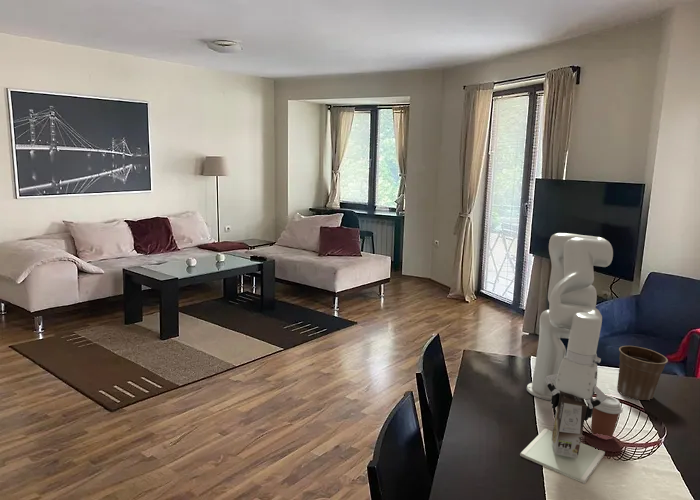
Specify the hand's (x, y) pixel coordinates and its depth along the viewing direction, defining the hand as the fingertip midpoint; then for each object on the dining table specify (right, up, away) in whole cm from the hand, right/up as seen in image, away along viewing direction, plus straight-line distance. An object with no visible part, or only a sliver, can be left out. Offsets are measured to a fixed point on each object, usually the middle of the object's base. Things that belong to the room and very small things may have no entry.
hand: (570, 412), depth 157 cm
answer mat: (-1, -13, +3) cm, 13 cm away
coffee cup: (+16, -12, +17) cm, 26 cm away
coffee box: (-1, -11, +2) cm, 12 cm away
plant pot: (+44, -8, +49) cm, 67 cm away
